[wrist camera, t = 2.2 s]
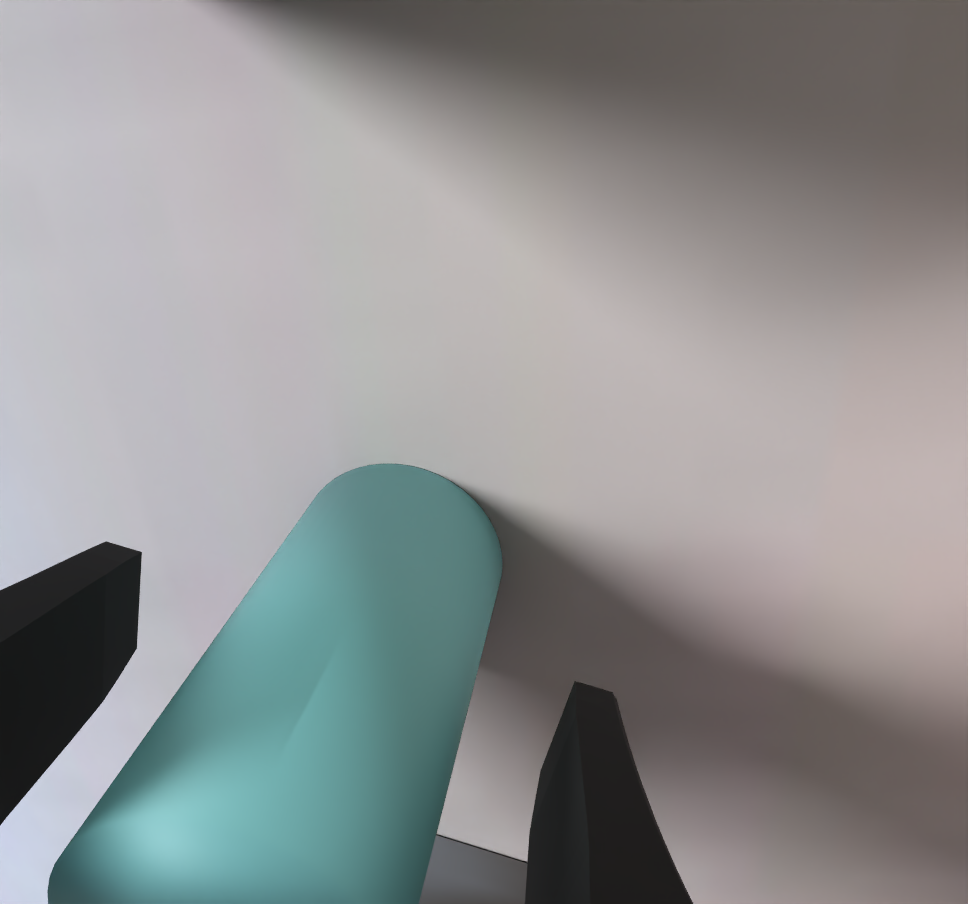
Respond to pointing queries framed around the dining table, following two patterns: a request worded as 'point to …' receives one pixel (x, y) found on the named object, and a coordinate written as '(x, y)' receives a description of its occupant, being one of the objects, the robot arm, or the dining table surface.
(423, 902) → the socket box
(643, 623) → the dining table surface
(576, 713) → the robot arm
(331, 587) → the peg
